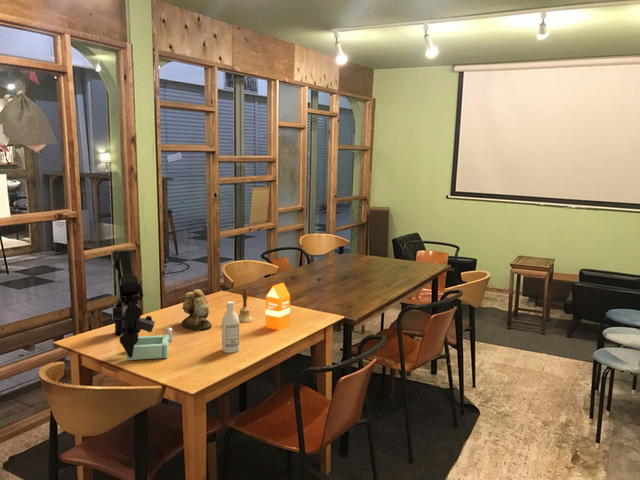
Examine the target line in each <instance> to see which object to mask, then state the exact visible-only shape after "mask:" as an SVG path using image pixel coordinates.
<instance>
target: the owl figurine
mask: <svg viewBox="0 0 640 480" xmlns="http://www.w3.org/2000/svg"><path fill="white" fill-rule="evenodd" d="M184 297H185V299H184V301H183V303H182V307H181V309H182V310H183V312H184V313H185V314H187V315H188V316H186V317H184V319H183V320H182V321H181V327H183V328H184V329H187V330H190V331H201V332H202V331H208V330H210V329H212V327H213V326H212V323H211V322H210V321H209V320H208V319H207V318H208V316H209V313H210V309H209V303H208V301H209V300H208V297H207V296H206V295H205V294H204V291H202V290H201V289H198V288H196V289H193V291H188V292H186V293H185V296H184Z"/></svg>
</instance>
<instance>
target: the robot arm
mask: <svg viewBox="0 0 640 480" xmlns="http://www.w3.org/2000/svg"><path fill="white" fill-rule="evenodd" d="M110 254H111V255H110V256H111V262H113V263H112V264H113V267H114V269H116V271H117V272H116V273H117V274H116V275H117V276H116V277H117V278H116V280H117V282H116V283H117V298H116V299H115V301H114V302H113V307H112V309H111V319H112V323H113V322H114V331H115V332H114V336H119V344H120V345H121V346H122V347H123V349H124V351H125V354H126V353H127V355H128V356H129V358H131V357H132V355H133V349H134V345H135V344H136V343H137V342H138V337H140V336H139V334H140V332H141V331H144V332H145V331H146V332H147V333H152V332H153V330H154V327H155V321H154V320H153V318H152V316H150V315H147V316H146V317H143V318H142V317H141V316H142V309H141V307H140V305H139V301H142V300H143V297H144V292H143V285H142V284H141V282H139V278H138V277H137V276H136V275H135V274H134V271H133V261H135V251H134V250H131V249H115V250H113V251H112V252H111V253H110Z"/></svg>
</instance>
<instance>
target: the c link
mask: <svg viewBox="0 0 640 480" xmlns="http://www.w3.org/2000/svg"><path fill="white" fill-rule="evenodd" d="M169 345H170V342H169V335H165V334H162V335H161V334H160V335H144V336H139V337H138V342H137V343H136V344H135V345H134V349H133V355H132V357H131V358H129V356H128V355H127V353H126V352H125V360H126V361H135V360H150V359H166V358H167V359H168V356H169V348H170V346H169Z"/></svg>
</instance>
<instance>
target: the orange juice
mask: <svg viewBox="0 0 640 480" xmlns="http://www.w3.org/2000/svg"><path fill="white" fill-rule="evenodd" d="M290 321H291V294H290V293H289V291H288V288H287V287H286V285H285V283H284V282H281V283H277V284H274V285H272V286H271V288H270V290H269V291H268V293H267V294H266V296H265V328H267V329H269V328H270V329H273V330H277V331H279V330H282V329H284V328H287V327H289V326H290V324H291V322H290Z"/></svg>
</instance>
